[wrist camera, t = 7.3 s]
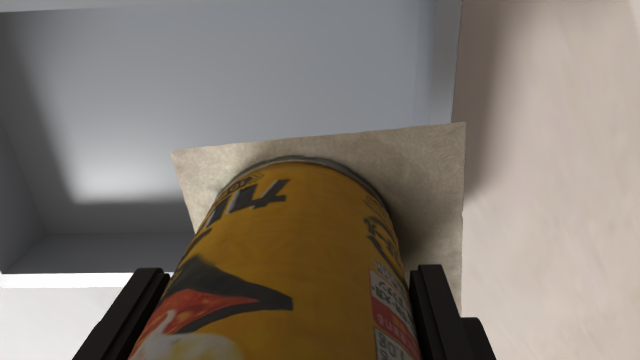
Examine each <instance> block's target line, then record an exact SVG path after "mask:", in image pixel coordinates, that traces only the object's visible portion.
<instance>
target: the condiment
mask: <svg viewBox="0 0 640 360" xmlns="http://www.w3.org/2000/svg"><path fill="white" fill-rule="evenodd" d="M465 146H466V121H462V122H452V123H444V124H437V125H425V126H412V127H404V128H399V129H389V130H377V131H364V132H358V133H342V134H334V135H320V136H306V137H294V138H285V139H276V140H266V141H255V142H245V143H234V144H226V145H220V146H205V147H196V148H189V149H181V150H176V151H170V154H171V157H172V160H173V163H174V167H175V170H176V173H177V177H178V180H179V184H180V187H181V189H182V192H183V196H184V200H185V203H186V205H187V207H188V211H189V214H190V217H191V221H192V224H193V228H194V232H195V236H194V238H193V240H192V242H191V243H190V244H189V246H188V247H187V249H186V252H185V254H184V256H183V257H182V258H181V260H180V262H179V264H178V266H177V268H176V270H175V272H174V274H173V276H172V277H171V278H170V281H169V282H168V284H167V285H166V287H165V290H164V293H163V294H162V296H161V298H160V301H159V303H158V305H157V306H156V308H155V310H154V312H153V313H152V315H151V317H150V318H149V320H148V322H147V324H146V326H145V328H144V330H143V331H142V333H141V335H140V337H139V338H138V340H137V341H136V343H135V345H134V348H133V350H132V352H131V354H130V356H129V357H128V359H127V360H423V356H422V351H421V348H420V343H419V339H418V333H417V330H416V324H415V314H414V306H413V304H412V303H411V299H410V294H409V281H410V271H411V270H417V269H418V265H419V264H441V265H442V267H443V270H444V273H445V275H446V278H447V281H448V284H449V287H450V289H451V292H452V295H453V298H454V301H455V303H456V306H457V309H458V312H459V315H460V317H461V274H462V230H463V219H462V211H463V201H464V160H465Z"/></svg>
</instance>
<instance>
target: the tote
mask: <svg viewBox="0 0 640 360" xmlns="http://www.w3.org/2000/svg"><path fill="white" fill-rule="evenodd" d="M461 11H462V0H0V288H44V287H124V286H125V285H126V283H127V282H128V281H129V279H130V278H131V276H132V275H133V273H134V272H135V271H136V270H137V269H138V268H157V267H160V268H162V269H163V271H164V273H169V275H170V277H172V276H173V274H174V272H175V270H176V268H177V266H178V264H179V262H180V260H181V258H182V257H183V256H184V254H185V252H186V249H187V247H188V246H189V244H190V243H191V242H192V240H193V238H194V236H195V232H194V228H193V224H192V221H191V217H190V214H189V211H188V207H187V205H186V203H185V200H184V196H183V192H182V189H181V187H180V184H179V180H178V177H177V173H176V170H175V167H174V163H173V160H172V157H171V154H170V151H176V150H181V149H189V148H196V147H205V146H220V145H226V144H234V143H245V142H255V141H266V140H276V139H285V138H294V137H306V136H320V135H334V134H342V133H358V132H364V131H377V130H389V129H399V128H404V127H412V126H425V125H437V124H444V123H451V116H452V105H453V95H454V84H455V74H456V63H457V53H458V42H459V32H460V21H461Z"/></svg>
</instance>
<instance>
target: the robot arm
mask: <svg viewBox="0 0 640 360" xmlns="http://www.w3.org/2000/svg"><path fill="white" fill-rule="evenodd" d="M170 278H171V277H170V275H169V273H164V271H163V269H162V268H160V267H157V268H138V269H137V270H136V271H135V272H134V273H133V275H132V276H131V278H130V279H129V281H128V282H127V283H126V285H125V286H124V288H123V289H122V291H121V292H120V294H119V295H118V297H117V298H116V299H115V301H114V302H113V304H112V305H111V307H110V308H109V310H108V311H107V313H106V314H105V315H104V317H103V318H102V320H101V321H100V322H99V323H98V324H97V325H96V326H95V327H94V329H93V330H92V331H91V333H90V334H89V336H88V337H87V339H86V340H85V342H84V343H83V344H82V346H81V347H80V349H79V350H78V352H77V353H76V354H75V356H74V357H73V359H72V360H127V359H128V357H129V356H130V354H131V352H132V350H133V348H134V345H135V343H136V341H137V340H138V338H139V337H140V335H141V333H142V331H143V330H144V328H145V326H146V324H147V322H148V320H149V318H150V317H151V315H152V313H153V312H154V310H155V308H156V306H157V305H158V303H159V301H160V298H161V296H162V294H163V293H164V290H165V287H166V285H167V284H168V282H169V281H170ZM409 294H410V299H411V303H412V304H413V306H414V314H415V324H416V330H417V333H418V339H419V343H420V348H421V351H422V356H423V360H496V357H495V355H494V353H493V350H492V348H491V345H490V343H489V340H488V338H487V336H486V333H485V331H484V328H483V326H482V324H481V322H480V320H479V319H478V318H477V317H467V318H461V317H460V315H459V312H458V309H457V306H456V303H455V301H454V298H453V295H452V292H451V289H450V287H449V284H448V281H447V278H446V275H445V273H444V270H443V267H442V265H441V264H419V265H418V269H417V270H411V271H410V281H409Z"/></svg>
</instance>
